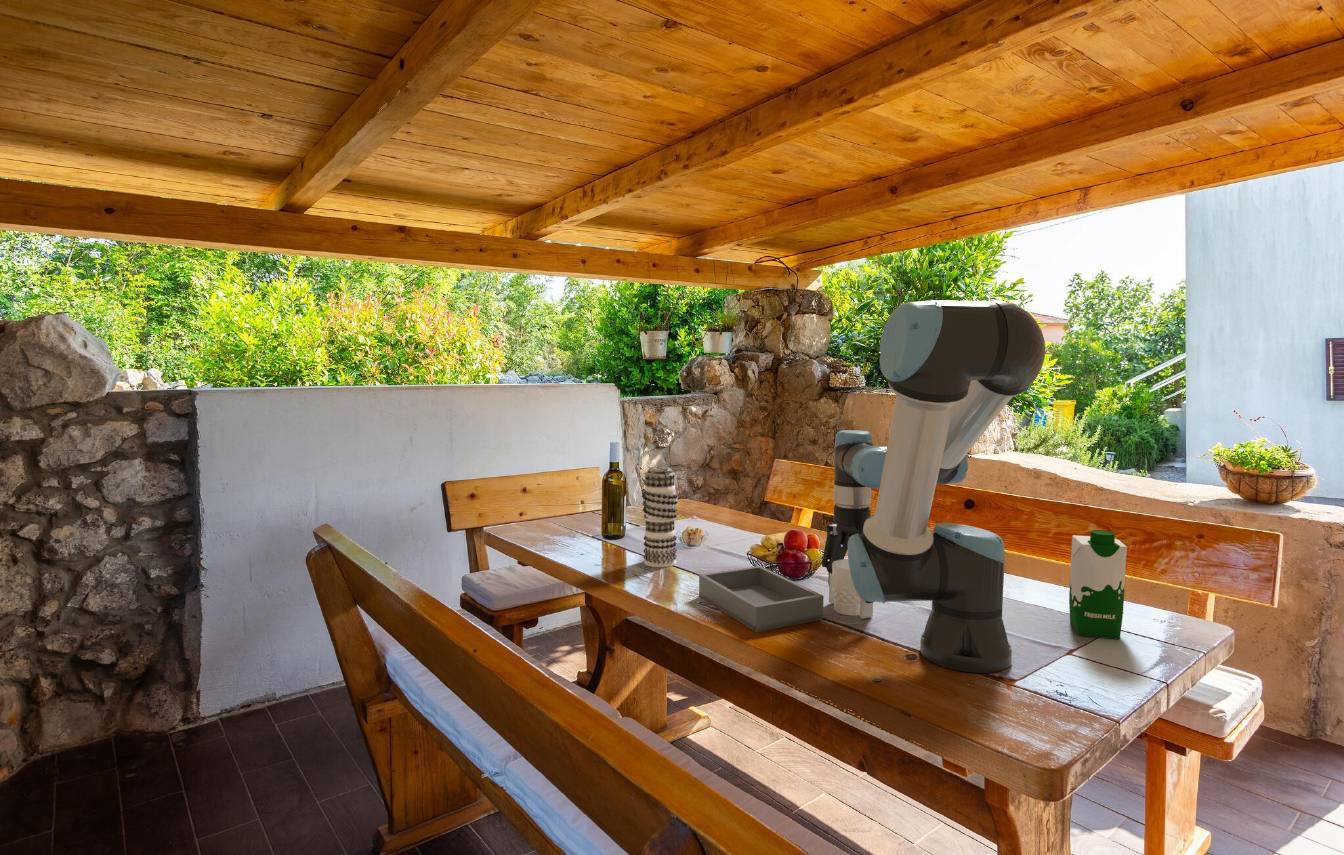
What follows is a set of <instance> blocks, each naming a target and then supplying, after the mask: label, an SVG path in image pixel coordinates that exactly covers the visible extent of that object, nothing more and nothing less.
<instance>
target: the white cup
mask: <svg viewBox="0 0 1344 855" xmlns="http://www.w3.org/2000/svg"><path fill="white" fill-rule="evenodd" d="M832 581H833V597H834V603H833V610H834V611H835V612H836V613H838V614H841V615H845V616H849V617H850V616H856V617H857V616H860V596H859V595H858V594H857V592H856V590H855V587H854V584H853V581H852V578H851V573H850V568H849V562H848V558H846V559H845V558H844V559H841V560H836V561H834V562H832Z"/></svg>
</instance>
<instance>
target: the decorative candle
mask: <svg viewBox="0 0 1344 855" xmlns="http://www.w3.org/2000/svg"><path fill="white" fill-rule="evenodd" d="M644 475H645V476H644V481H645V482H644V484H645V485H644V488H643V489H642V490H641V492H642V495H641V498H642V499H643V500H644V501H642V506H643V509H642V512H643V513H644V514H643V520H645V530H644V537H643V540H644V543H643V546H644V548H643V553H644V555H643V559H644V562H643V563H644V565H645V566H648V567H653V568H667V567H671V566H675V565H676V564H677V557H678V556H677V554H676V553H677V551H678V550H677V548H676V546H677V542H676V541H677V536H676V528H675V521H676V520H677V517H678V515H677V514H676V512H677V511H678V509H677V508H676V507H675V506H676V505H677V504H678V501H677V500H676V499H677V498H678V495H677V494H675V490H676V485H675V476H676V475H677V474H676V472H674V471H673V469H672V468H671V467H668V466H652V467H649V468H648V470H647V472H645V473H644Z"/></svg>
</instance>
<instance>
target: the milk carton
mask: <svg viewBox="0 0 1344 855" xmlns="http://www.w3.org/2000/svg"><path fill="white" fill-rule="evenodd" d="M1115 537H1116V534H1115V532H1112V531H1109V530H1104V529H1103V530H1102V529H1094V530H1093V529H1092V530H1091V531H1090V534H1089V535H1078V534H1077V535H1075V534H1073V535H1072V536H1071V553H1070V555H1071V557H1070V558H1071V559H1070V568H1069V569H1070V571H1069V572H1070V574H1069V594H1068V595H1069V597H1068V598H1069V599H1068V601H1069V602H1068V603H1069V604H1068V606H1069V607H1068V608H1069V624H1070V625H1071V626H1072V628H1073V629H1074V630H1075V632H1076V634H1077V635H1078V636H1080V637H1088V638H1089V637H1090V638H1102V639H1114V640H1120V639H1121V635H1122V634H1121V633H1122V624H1123V617H1124V604H1125V603H1124V602H1125V601H1124V600H1125V587H1126V586H1125V583H1126V581H1125V580H1126V565H1127V564H1126V562H1127V551H1128V546H1126V545H1125V544H1124V543H1123V542H1121V539H1117V538H1115Z"/></svg>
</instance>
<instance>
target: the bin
mask: <svg viewBox="0 0 1344 855" xmlns="http://www.w3.org/2000/svg"><path fill="white" fill-rule="evenodd" d="M698 597H699V598H700V599H702V600H703V601H705V602H707V603H709V604H710V605H711V606H713V607H715V608H717V609H718V610H720V611H721V612H723V613H725V614H726V615H728V616H729V615H730V616H729V617H731V618H732V617H733V618H732V619H734V620H735V619H736V621H737V622H739V623H741V624H742V625H743V626H745V627H747V628H749V630H751V629H752V630H751V631H753V630H754V631H753V632H755V633H760V632H765V631H771V630H774V629H780V628H787V627H791V626H797V625H802V624H807V623H813V622H818V621H822V620H823V621H824V597H825V596H824V595H823V594H820V593H818V592H817V591H814V590H812V589H810V588H807V587H806V586H804V585H802V584H800V583H798V582H795V581H794V580H791V579H789V578H786V577H785V576H783V575H780V574H778V573H776V572H775V571H772V570H769V569H768V568H765V567H764V566H761V565H758V566H750V567H744V568H736V569H731V570H730V569H729V570H725V571H724V570H722V571H715V572H709V573H703V574H698Z"/></svg>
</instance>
